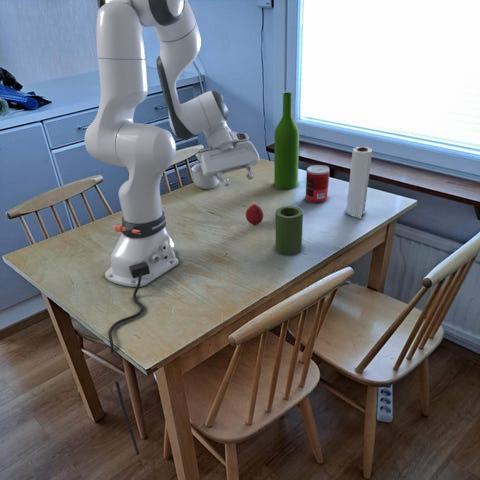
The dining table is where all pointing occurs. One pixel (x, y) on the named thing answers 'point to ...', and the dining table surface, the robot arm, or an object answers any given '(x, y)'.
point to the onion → (254, 214)
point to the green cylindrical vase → (289, 230)
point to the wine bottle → (286, 148)
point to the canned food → (317, 183)
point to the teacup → (203, 178)
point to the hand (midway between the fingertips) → (239, 181)
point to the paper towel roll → (358, 181)
